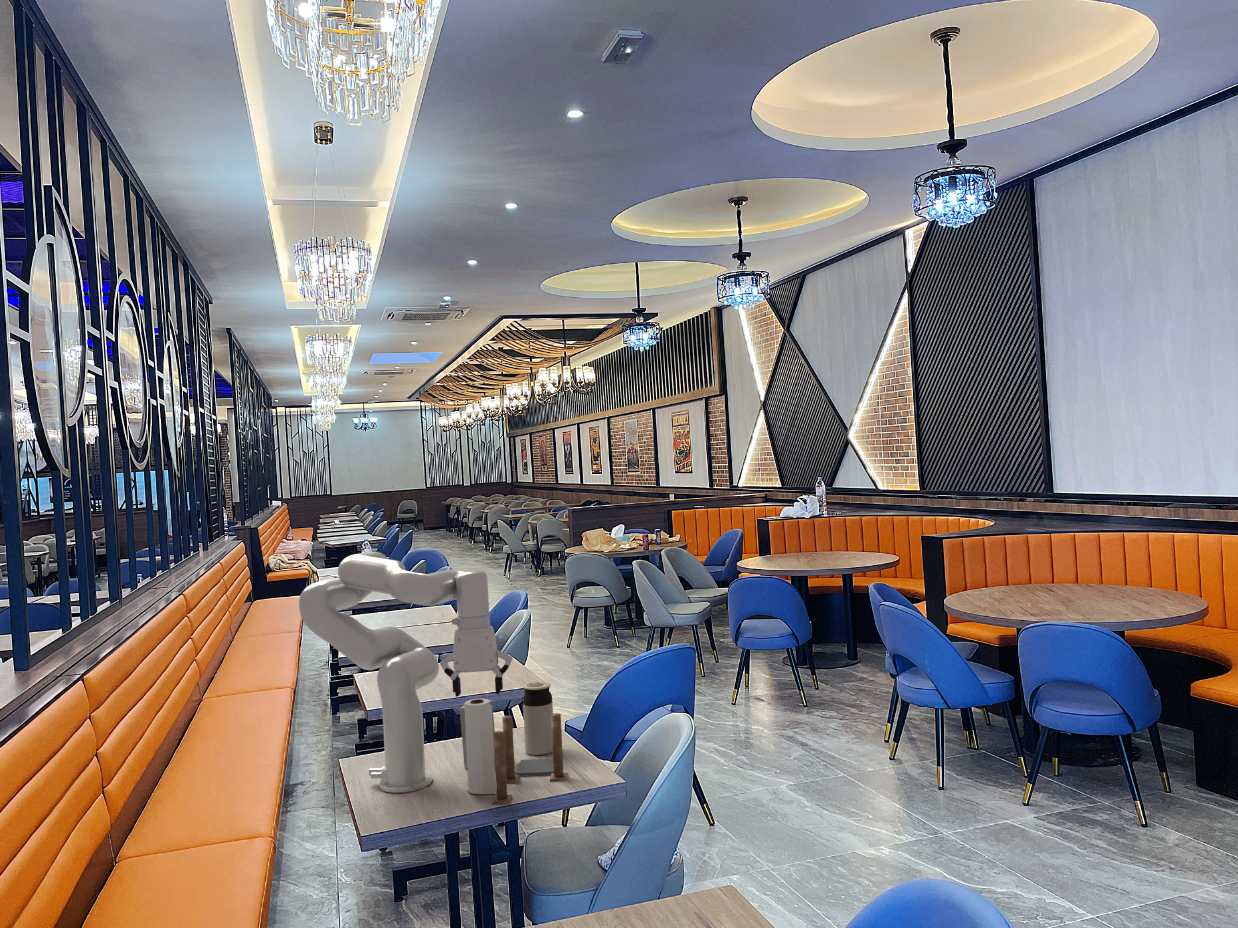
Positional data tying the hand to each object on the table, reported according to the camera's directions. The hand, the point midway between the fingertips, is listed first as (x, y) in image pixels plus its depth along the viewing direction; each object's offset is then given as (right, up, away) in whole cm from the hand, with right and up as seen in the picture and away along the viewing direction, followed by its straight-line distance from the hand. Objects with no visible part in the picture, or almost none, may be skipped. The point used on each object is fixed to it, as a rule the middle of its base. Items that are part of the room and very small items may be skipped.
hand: (478, 693), depth 204 cm
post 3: (+19, -22, +6) cm, 30 cm away
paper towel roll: (+1, -23, 0) cm, 23 cm away
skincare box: (-3, -24, +20) cm, 31 cm away
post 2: (+7, -23, +6) cm, 25 cm away
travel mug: (+12, -23, +28) cm, 38 cm away
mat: (+13, -23, +14) cm, 30 cm away
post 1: (+7, -23, -7) cm, 25 cm away
